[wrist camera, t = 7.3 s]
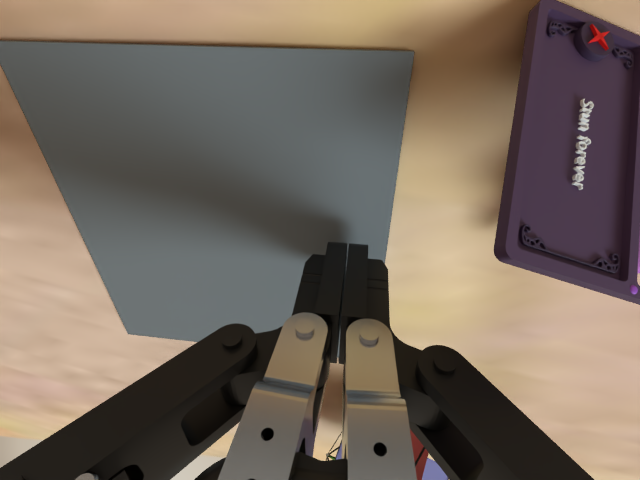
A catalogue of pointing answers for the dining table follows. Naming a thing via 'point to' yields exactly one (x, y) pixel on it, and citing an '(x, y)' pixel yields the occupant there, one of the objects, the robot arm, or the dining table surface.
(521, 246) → the game card
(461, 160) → the dining table surface
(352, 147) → the mat
